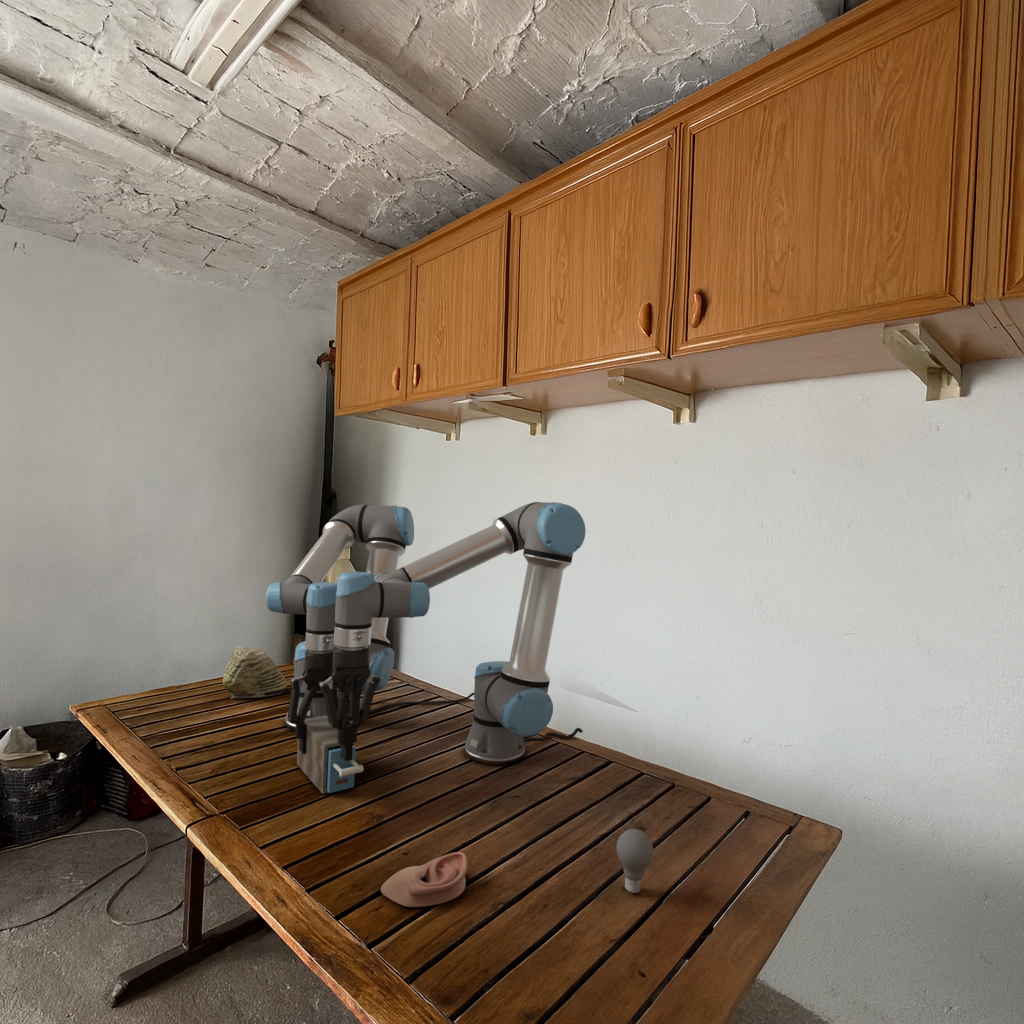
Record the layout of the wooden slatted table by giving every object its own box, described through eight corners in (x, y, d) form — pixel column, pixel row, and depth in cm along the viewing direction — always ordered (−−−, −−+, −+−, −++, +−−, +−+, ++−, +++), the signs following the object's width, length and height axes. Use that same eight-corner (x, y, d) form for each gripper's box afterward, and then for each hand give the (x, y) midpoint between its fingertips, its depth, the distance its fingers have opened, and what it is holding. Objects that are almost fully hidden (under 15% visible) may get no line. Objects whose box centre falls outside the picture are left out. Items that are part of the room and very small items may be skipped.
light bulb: (610, 879, 108) (613, 822, 108) (644, 879, 109) (647, 822, 109) (619, 902, 102) (622, 840, 102) (655, 901, 103) (658, 840, 103)
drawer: (364, 797, 133) (365, 756, 132) (338, 803, 129) (340, 761, 129) (327, 760, 150) (328, 723, 150) (304, 765, 147) (305, 727, 146)
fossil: (218, 695, 195) (220, 647, 195) (278, 685, 208) (279, 640, 207) (228, 703, 189) (230, 653, 188) (289, 692, 201) (290, 645, 201)
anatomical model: (373, 876, 100) (400, 838, 111) (372, 901, 100) (399, 861, 111) (454, 890, 97) (473, 850, 108) (452, 915, 97) (472, 873, 108)
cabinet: (352, 786, 139) (354, 739, 139) (322, 794, 135) (324, 745, 135) (324, 758, 153) (326, 715, 153) (296, 764, 149) (298, 720, 149)
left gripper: (283, 658, 138) (279, 762, 138) (368, 648, 150) (364, 745, 150) (273, 650, 144) (270, 751, 144) (356, 642, 156) (352, 735, 156)
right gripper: (328, 653, 126) (321, 771, 126) (388, 647, 133) (382, 758, 134) (315, 645, 132) (309, 757, 132) (373, 640, 139) (368, 746, 140)
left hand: (318, 748), depth 147 cm, fingers closed on cabinet, 7 cm apart
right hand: (346, 758), depth 133 cm, fingers closed
